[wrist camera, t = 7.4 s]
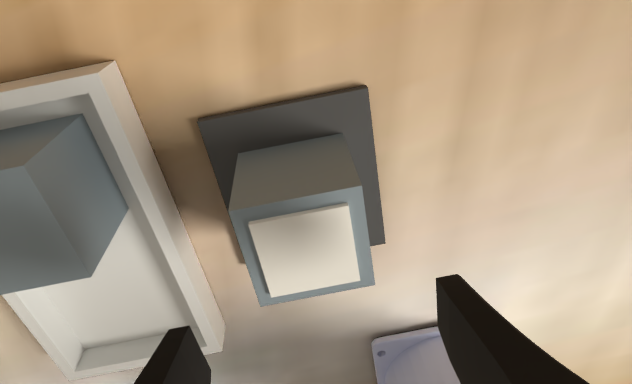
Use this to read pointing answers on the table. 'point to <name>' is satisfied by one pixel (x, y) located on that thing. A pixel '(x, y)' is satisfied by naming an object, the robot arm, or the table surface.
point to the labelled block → (301, 220)
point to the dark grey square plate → (299, 139)
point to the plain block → (54, 204)
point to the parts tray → (114, 240)
